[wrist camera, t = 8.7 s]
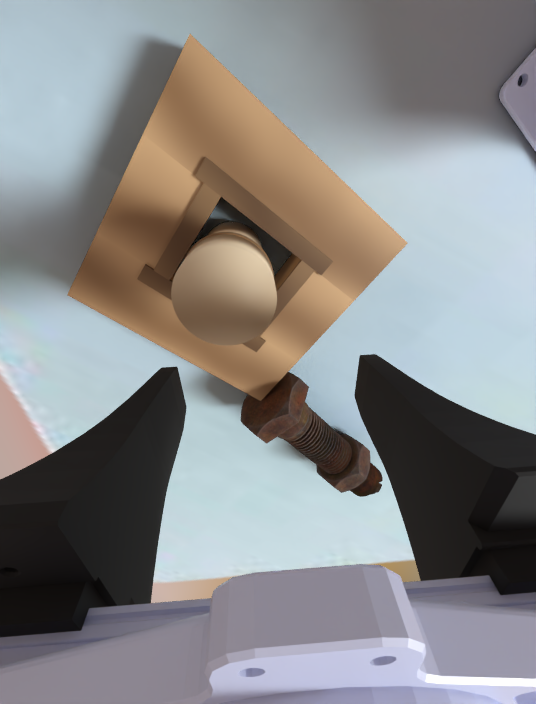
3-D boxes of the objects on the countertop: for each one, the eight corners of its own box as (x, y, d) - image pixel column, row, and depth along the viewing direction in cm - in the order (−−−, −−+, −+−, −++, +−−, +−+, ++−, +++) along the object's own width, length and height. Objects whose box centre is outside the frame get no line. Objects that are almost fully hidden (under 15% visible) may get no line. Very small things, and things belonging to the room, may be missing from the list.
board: (198, 51, 15) (189, 31, 13) (390, 234, 20) (409, 243, 18) (86, 281, 20) (65, 296, 18) (259, 380, 25) (260, 402, 23)
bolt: (350, 454, 33) (255, 372, 27) (396, 453, 30) (301, 359, 23) (340, 512, 30) (229, 435, 23) (391, 518, 27) (278, 430, 20)
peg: (193, 215, 19) (161, 244, 12) (268, 215, 19) (279, 244, 12) (201, 287, 21) (178, 347, 14) (268, 287, 21) (277, 345, 15)
